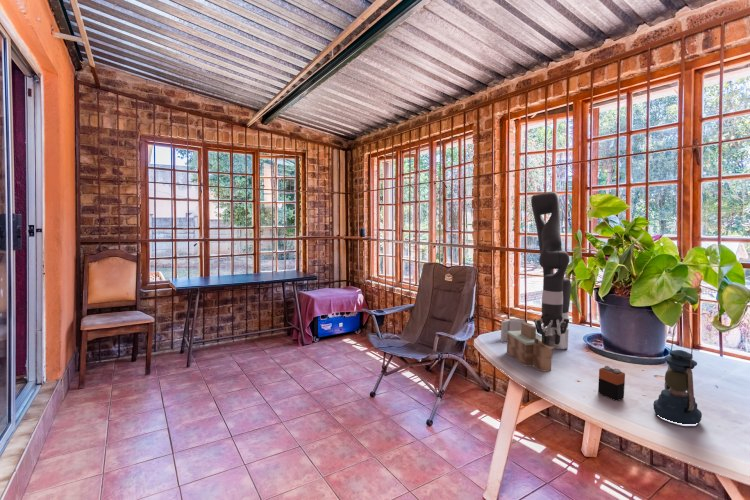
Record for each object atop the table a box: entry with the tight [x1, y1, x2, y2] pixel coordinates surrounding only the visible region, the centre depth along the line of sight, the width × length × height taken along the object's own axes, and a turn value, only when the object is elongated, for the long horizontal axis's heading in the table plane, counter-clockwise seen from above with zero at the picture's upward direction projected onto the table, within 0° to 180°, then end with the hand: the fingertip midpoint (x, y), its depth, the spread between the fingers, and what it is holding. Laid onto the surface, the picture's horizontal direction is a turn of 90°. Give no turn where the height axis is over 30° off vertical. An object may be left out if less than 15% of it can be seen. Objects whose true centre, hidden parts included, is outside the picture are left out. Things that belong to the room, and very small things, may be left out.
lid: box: [507, 322, 542, 345], centre depth 171 cm, size 16×11×7 cm
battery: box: [597, 365, 626, 401], centre depth 136 cm, size 4×7×10 cm, turn 26°
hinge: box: [500, 318, 528, 343], centre depth 198 cm, size 14×5×10 cm, turn 98°
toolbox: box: [506, 334, 553, 372], centre depth 169 cm, size 22×11×12 cm, turn 9°
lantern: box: [653, 307, 703, 424], centre depth 120 cm, size 14×12×35 cm
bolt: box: [538, 334, 555, 350], centre depth 158 cm, size 8×3×5 cm, turn 9°
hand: (550, 344), depth 155 cm, fingers open, 4 cm apart
